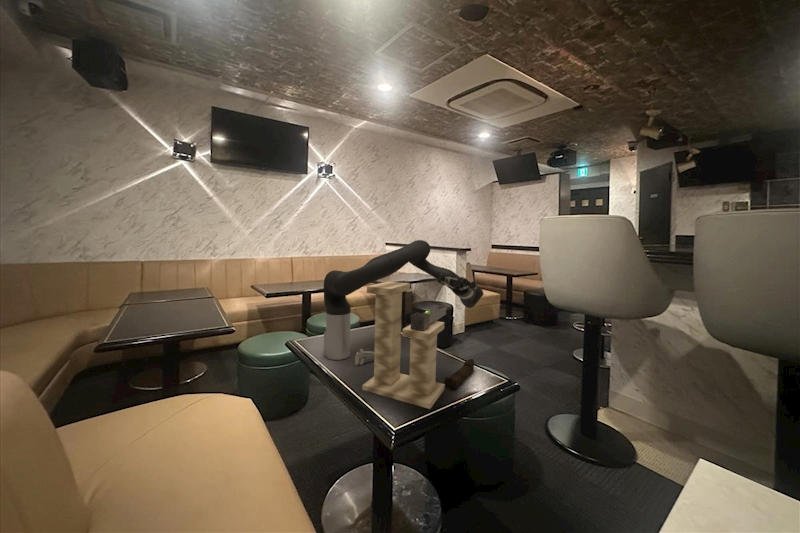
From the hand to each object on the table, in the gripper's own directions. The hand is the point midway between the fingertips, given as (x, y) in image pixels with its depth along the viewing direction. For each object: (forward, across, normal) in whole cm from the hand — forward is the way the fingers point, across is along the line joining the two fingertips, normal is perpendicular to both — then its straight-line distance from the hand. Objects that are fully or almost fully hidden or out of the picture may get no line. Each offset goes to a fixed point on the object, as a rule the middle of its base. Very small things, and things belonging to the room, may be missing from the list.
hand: (452, 278), depth 110 cm
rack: (+12, -2, +39) cm, 41 cm away
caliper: (-3, -21, +36) cm, 42 cm away
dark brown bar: (-4, +10, +33) cm, 35 cm away
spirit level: (+14, +1, +17) cm, 22 cm away
